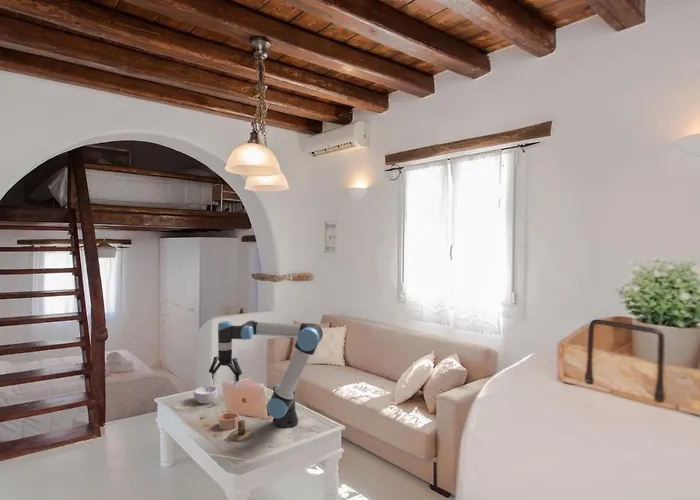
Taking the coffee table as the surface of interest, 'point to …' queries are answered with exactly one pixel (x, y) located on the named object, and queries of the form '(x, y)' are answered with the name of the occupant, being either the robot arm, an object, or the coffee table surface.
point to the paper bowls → (205, 394)
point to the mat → (241, 441)
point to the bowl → (228, 420)
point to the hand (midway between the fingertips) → (225, 386)
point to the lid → (241, 432)
